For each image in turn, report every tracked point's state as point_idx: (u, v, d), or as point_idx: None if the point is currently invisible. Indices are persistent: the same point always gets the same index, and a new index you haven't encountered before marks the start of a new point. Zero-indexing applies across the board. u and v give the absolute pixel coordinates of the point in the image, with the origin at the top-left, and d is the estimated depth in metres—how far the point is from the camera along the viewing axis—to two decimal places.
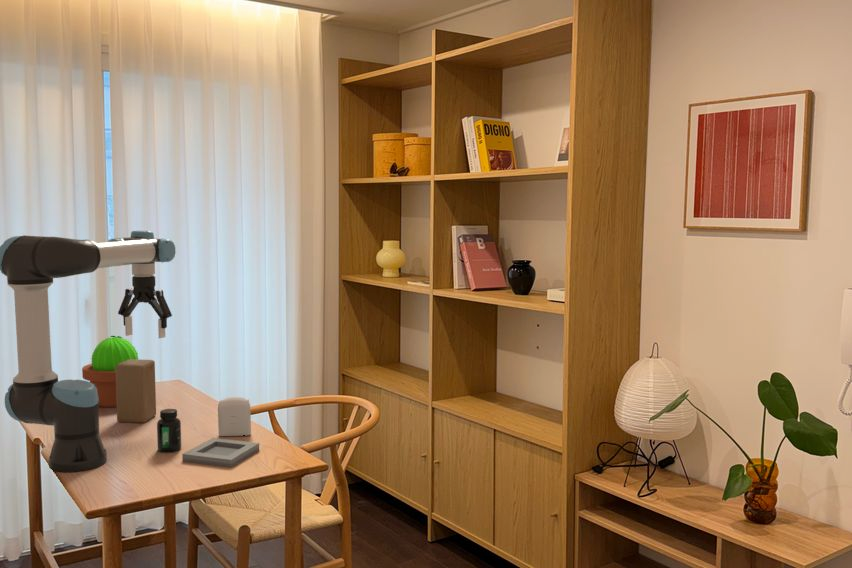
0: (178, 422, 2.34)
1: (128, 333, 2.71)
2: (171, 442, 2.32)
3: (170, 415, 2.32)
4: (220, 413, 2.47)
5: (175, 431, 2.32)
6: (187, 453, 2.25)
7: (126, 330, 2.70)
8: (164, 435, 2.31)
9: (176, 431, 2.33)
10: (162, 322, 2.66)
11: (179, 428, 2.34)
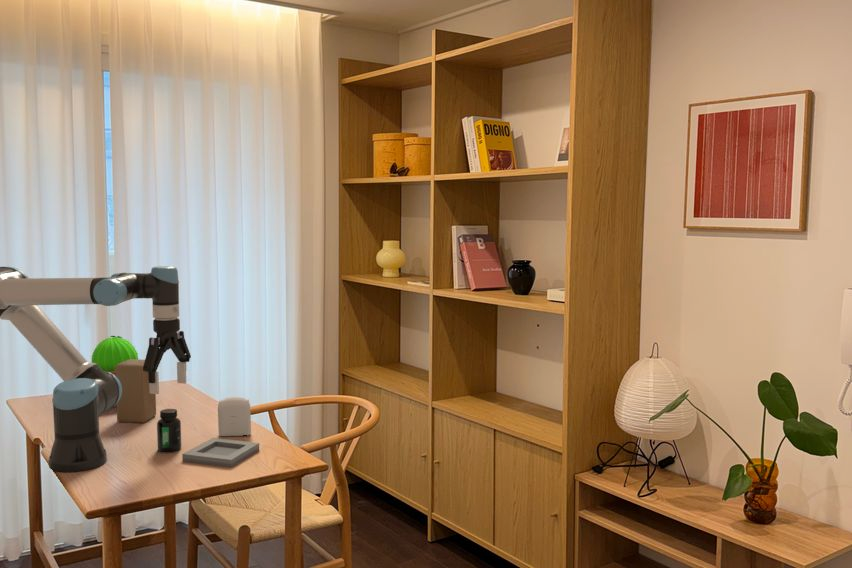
0: (178, 422, 2.34)
1: (179, 380, 2.39)
2: (171, 442, 2.32)
3: (170, 415, 2.32)
4: (220, 413, 2.47)
5: (175, 431, 2.32)
6: (187, 453, 2.25)
7: None
8: (164, 435, 2.31)
9: (176, 431, 2.33)
10: None
11: (179, 428, 2.34)
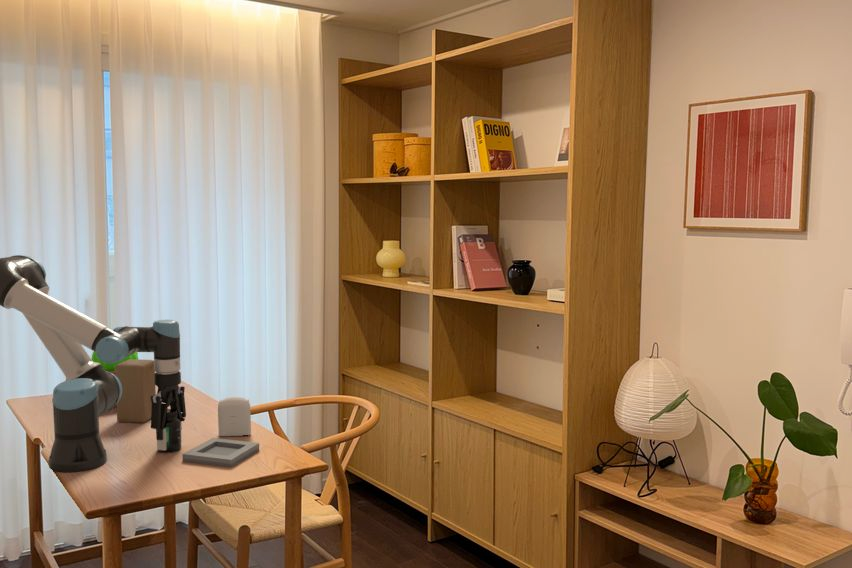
0: (178, 422, 2.34)
1: None
2: (171, 442, 2.32)
3: (170, 415, 2.32)
4: (220, 413, 2.47)
5: (175, 431, 2.32)
6: (187, 453, 2.25)
7: None
8: None
9: (176, 431, 2.33)
10: None
11: (179, 428, 2.34)
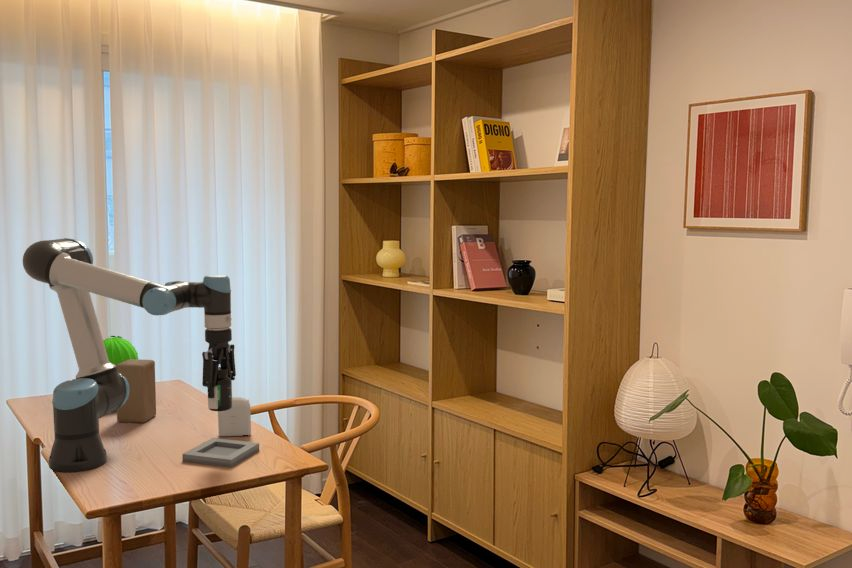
0: (229, 380, 2.27)
1: None
2: (222, 400, 2.25)
3: (221, 373, 2.25)
4: (220, 413, 2.47)
5: (226, 389, 2.26)
6: (187, 453, 2.25)
7: None
8: None
9: (227, 389, 2.26)
10: None
11: (230, 386, 2.27)
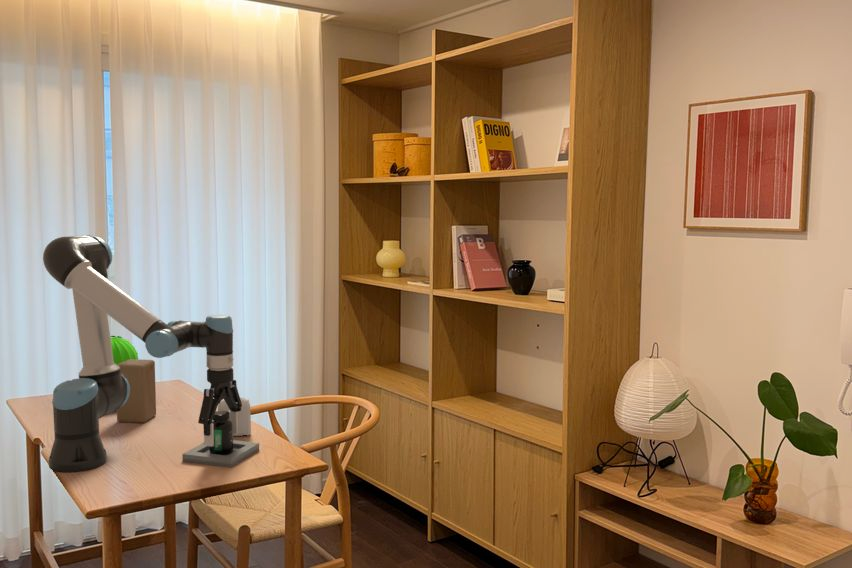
0: (230, 424, 2.28)
1: None
2: (223, 445, 2.27)
3: (223, 417, 2.27)
4: None
5: (227, 434, 2.27)
6: (187, 453, 2.25)
7: None
8: (216, 437, 2.26)
9: (228, 433, 2.27)
10: None
11: (231, 430, 2.29)
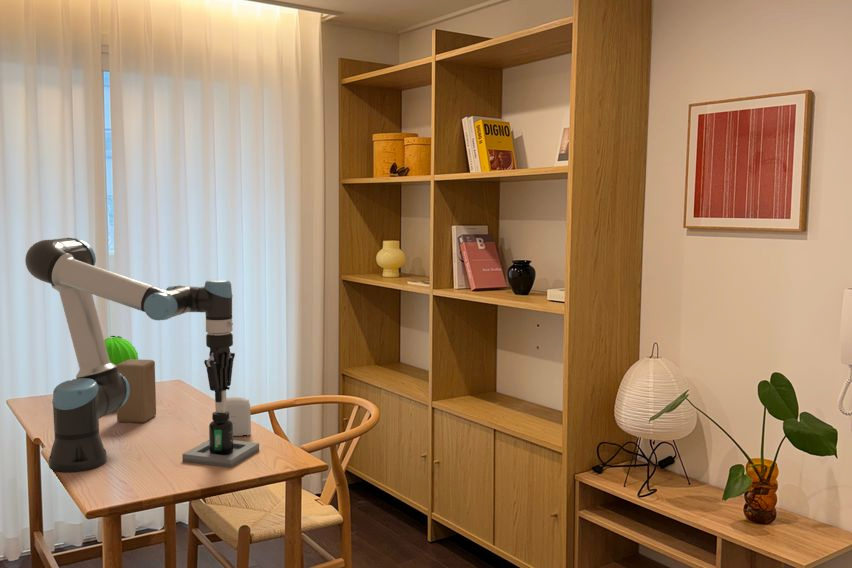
0: (230, 424, 2.28)
1: None
2: (223, 445, 2.27)
3: (223, 417, 2.27)
4: None
5: (227, 434, 2.27)
6: (187, 453, 2.25)
7: None
8: (216, 437, 2.26)
9: (228, 433, 2.27)
10: None
11: (231, 430, 2.29)
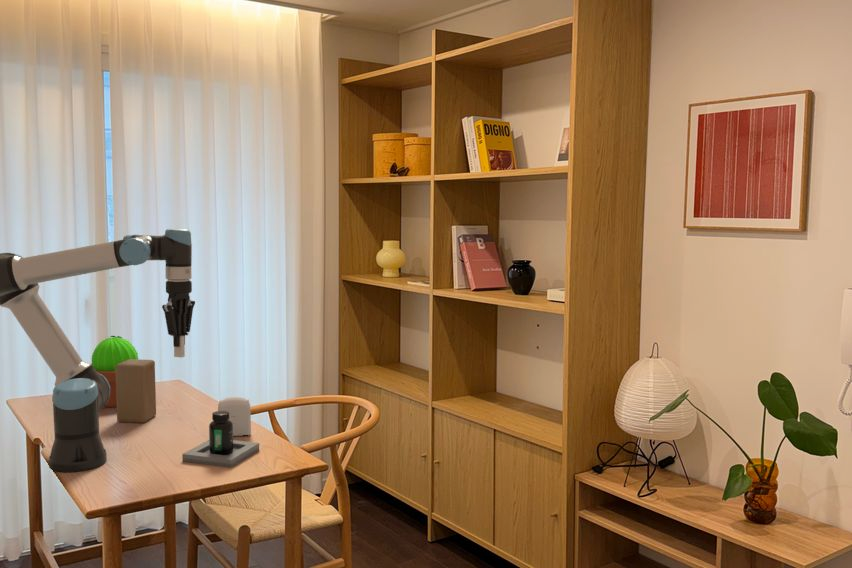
0: (230, 424, 2.28)
1: None
2: (223, 445, 2.27)
3: (223, 417, 2.27)
4: None
5: (227, 434, 2.27)
6: (187, 453, 2.25)
7: None
8: (216, 437, 2.26)
9: (228, 433, 2.27)
10: None
11: (231, 430, 2.29)
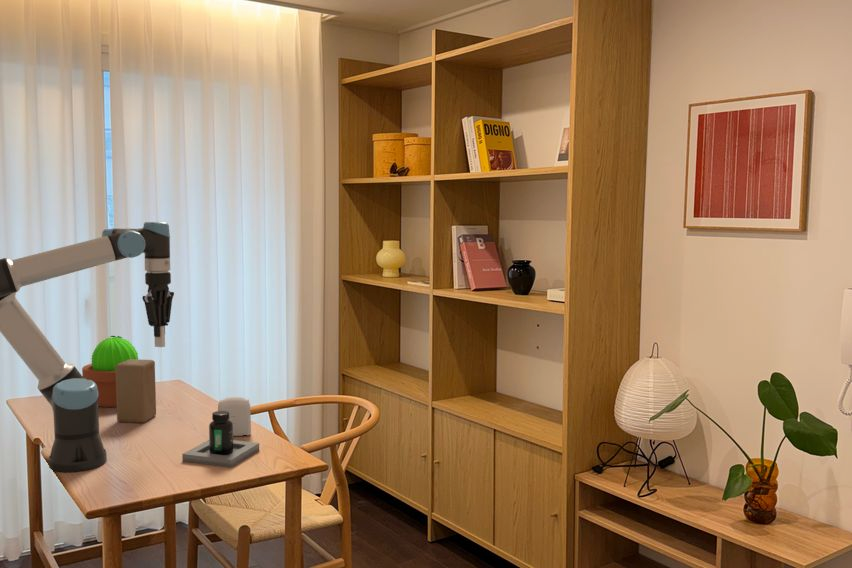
0: (230, 424, 2.28)
1: None
2: (223, 445, 2.27)
3: (223, 417, 2.27)
4: None
5: (227, 434, 2.27)
6: (187, 453, 2.25)
7: None
8: (216, 437, 2.26)
9: (228, 433, 2.27)
10: None
11: (231, 430, 2.29)
